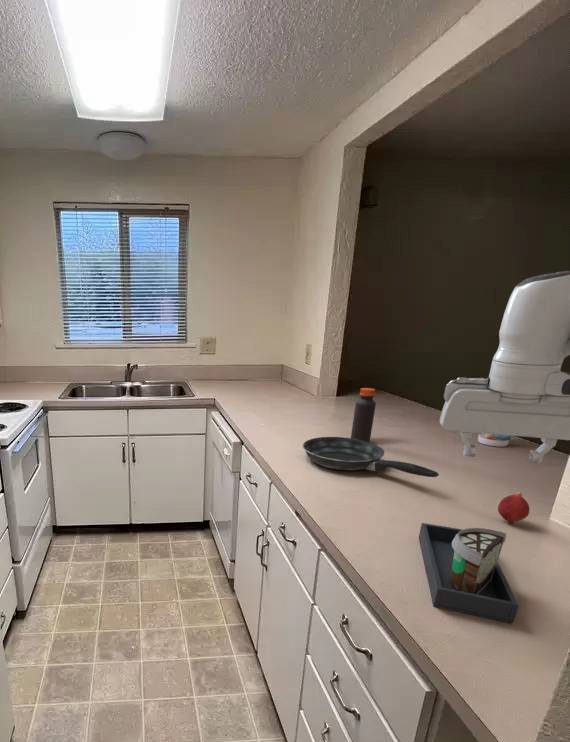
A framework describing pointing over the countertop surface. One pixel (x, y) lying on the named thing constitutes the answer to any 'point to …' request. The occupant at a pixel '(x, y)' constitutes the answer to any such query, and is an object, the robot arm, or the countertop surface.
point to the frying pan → (356, 456)
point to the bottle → (364, 415)
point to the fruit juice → (493, 439)
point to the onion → (513, 508)
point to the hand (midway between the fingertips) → (500, 458)
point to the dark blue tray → (487, 604)
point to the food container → (475, 558)
